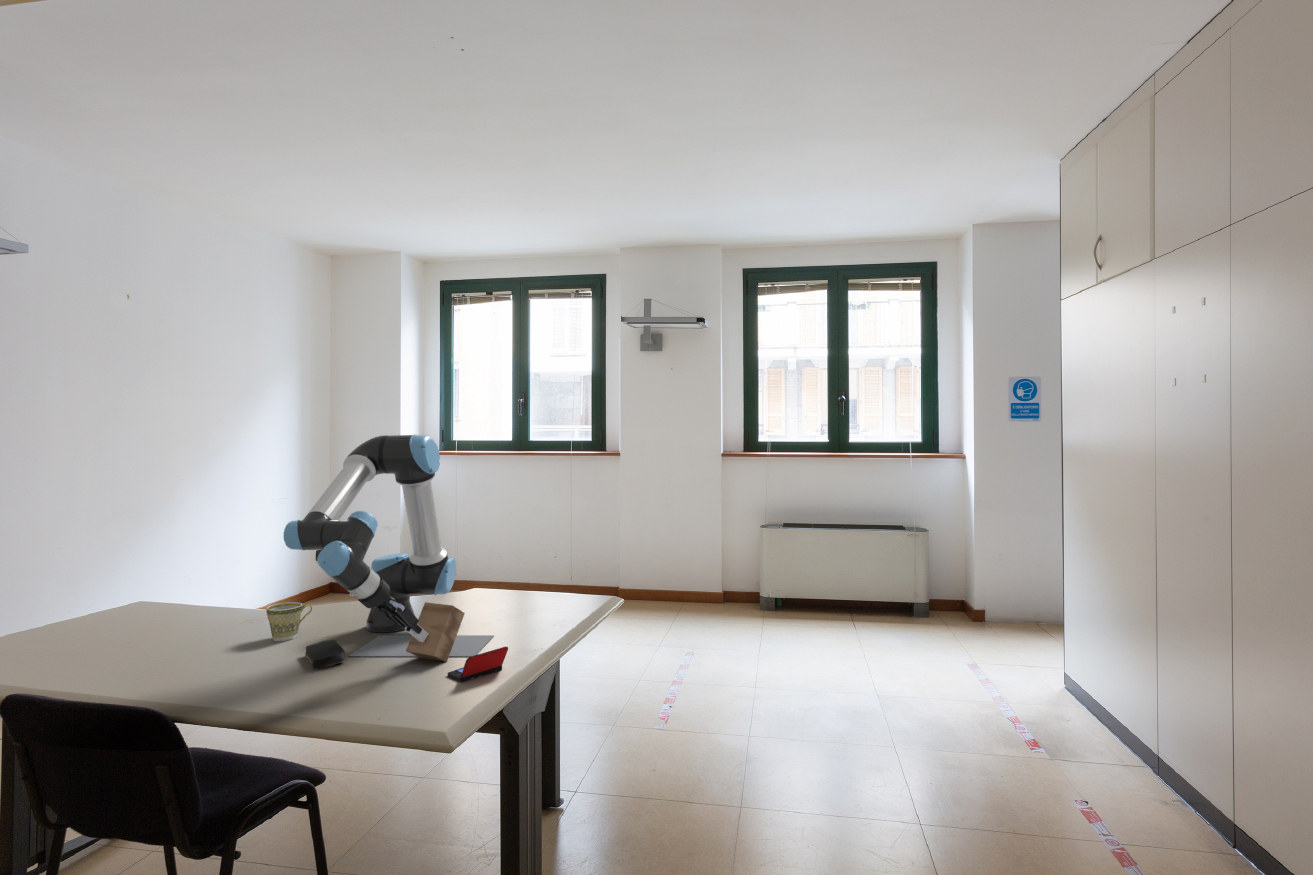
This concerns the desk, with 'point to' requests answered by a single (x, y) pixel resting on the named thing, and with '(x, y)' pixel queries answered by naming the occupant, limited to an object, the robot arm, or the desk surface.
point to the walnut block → (437, 631)
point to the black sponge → (325, 654)
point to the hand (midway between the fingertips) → (423, 637)
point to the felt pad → (398, 646)
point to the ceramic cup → (285, 620)
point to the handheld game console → (480, 665)
